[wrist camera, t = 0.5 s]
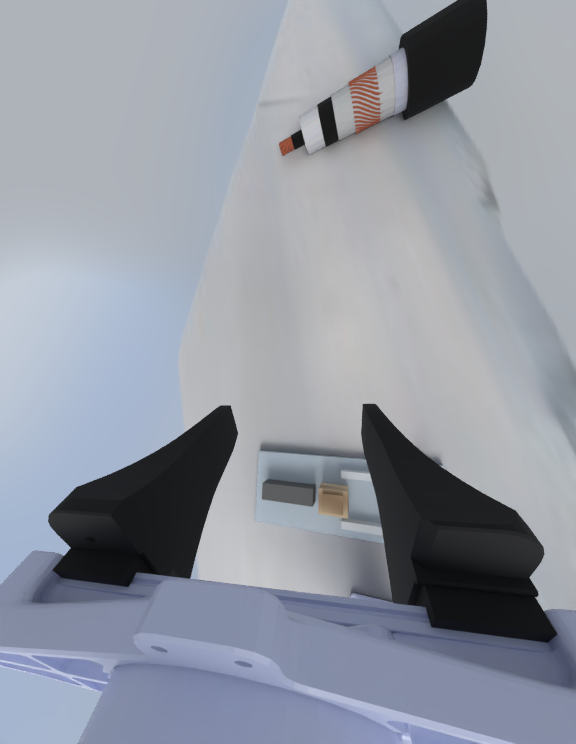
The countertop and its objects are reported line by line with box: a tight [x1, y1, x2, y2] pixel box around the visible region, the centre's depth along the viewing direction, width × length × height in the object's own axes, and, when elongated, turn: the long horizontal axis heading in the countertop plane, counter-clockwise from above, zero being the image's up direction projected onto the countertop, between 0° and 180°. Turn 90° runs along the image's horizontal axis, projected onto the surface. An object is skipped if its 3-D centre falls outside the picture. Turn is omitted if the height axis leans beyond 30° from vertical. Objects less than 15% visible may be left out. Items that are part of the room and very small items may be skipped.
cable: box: [279, 0, 487, 156], centre depth 43 cm, size 10×34×10 cm, turn 94°
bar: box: [262, 479, 316, 507], centre depth 37 cm, size 2×8×2 cm, turn 89°
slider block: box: [318, 483, 349, 519], centre depth 34 cm, size 3×4×4 cm
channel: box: [255, 450, 446, 544], centre depth 34 cm, size 11×28×4 cm, turn 89°
